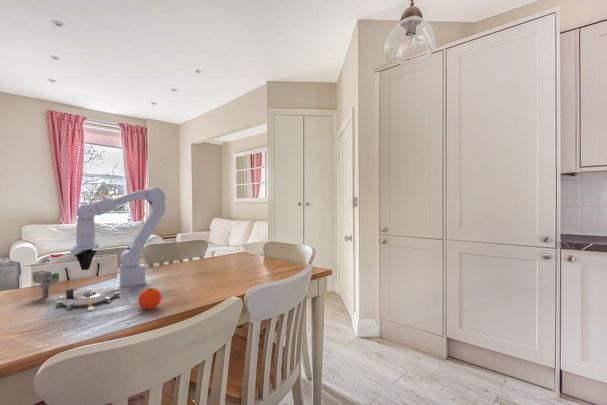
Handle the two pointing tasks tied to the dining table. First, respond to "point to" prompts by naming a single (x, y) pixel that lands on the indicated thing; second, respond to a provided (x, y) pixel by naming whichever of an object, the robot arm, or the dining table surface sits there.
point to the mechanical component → (45, 280)
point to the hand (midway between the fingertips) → (85, 269)
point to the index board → (63, 311)
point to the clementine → (149, 298)
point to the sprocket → (87, 297)
